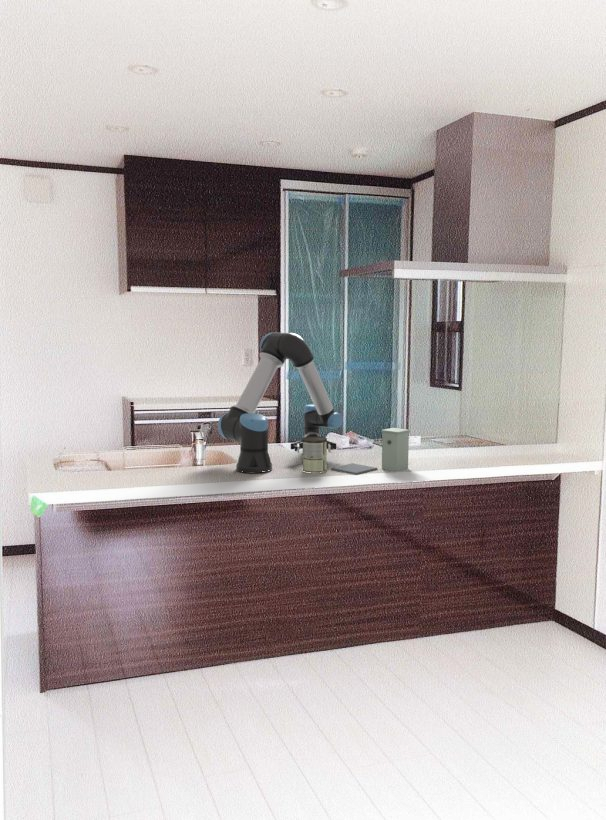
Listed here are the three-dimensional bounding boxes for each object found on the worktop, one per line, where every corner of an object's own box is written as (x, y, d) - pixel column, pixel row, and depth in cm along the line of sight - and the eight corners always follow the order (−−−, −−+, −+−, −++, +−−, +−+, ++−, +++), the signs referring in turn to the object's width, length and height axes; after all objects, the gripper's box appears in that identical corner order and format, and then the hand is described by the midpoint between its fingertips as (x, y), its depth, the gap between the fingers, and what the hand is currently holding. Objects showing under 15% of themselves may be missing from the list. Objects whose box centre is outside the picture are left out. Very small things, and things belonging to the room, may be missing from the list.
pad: (356, 474, 302) (356, 472, 302) (330, 469, 312) (330, 467, 312) (377, 469, 312) (377, 467, 312) (352, 464, 322) (352, 463, 322)
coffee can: (299, 469, 312) (299, 436, 310) (322, 468, 315) (322, 435, 313) (306, 474, 302) (306, 440, 301) (330, 473, 305) (330, 439, 304)
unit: (396, 471, 308) (397, 432, 306) (380, 468, 314) (380, 429, 312) (409, 468, 315) (410, 429, 313) (393, 465, 321) (394, 427, 318)
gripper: (339, 449, 339) (342, 458, 318) (285, 449, 338) (285, 458, 317) (339, 433, 338) (343, 441, 317) (285, 433, 337) (285, 441, 316)
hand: (314, 449), depth 317 cm, fingers open, 13 cm apart
